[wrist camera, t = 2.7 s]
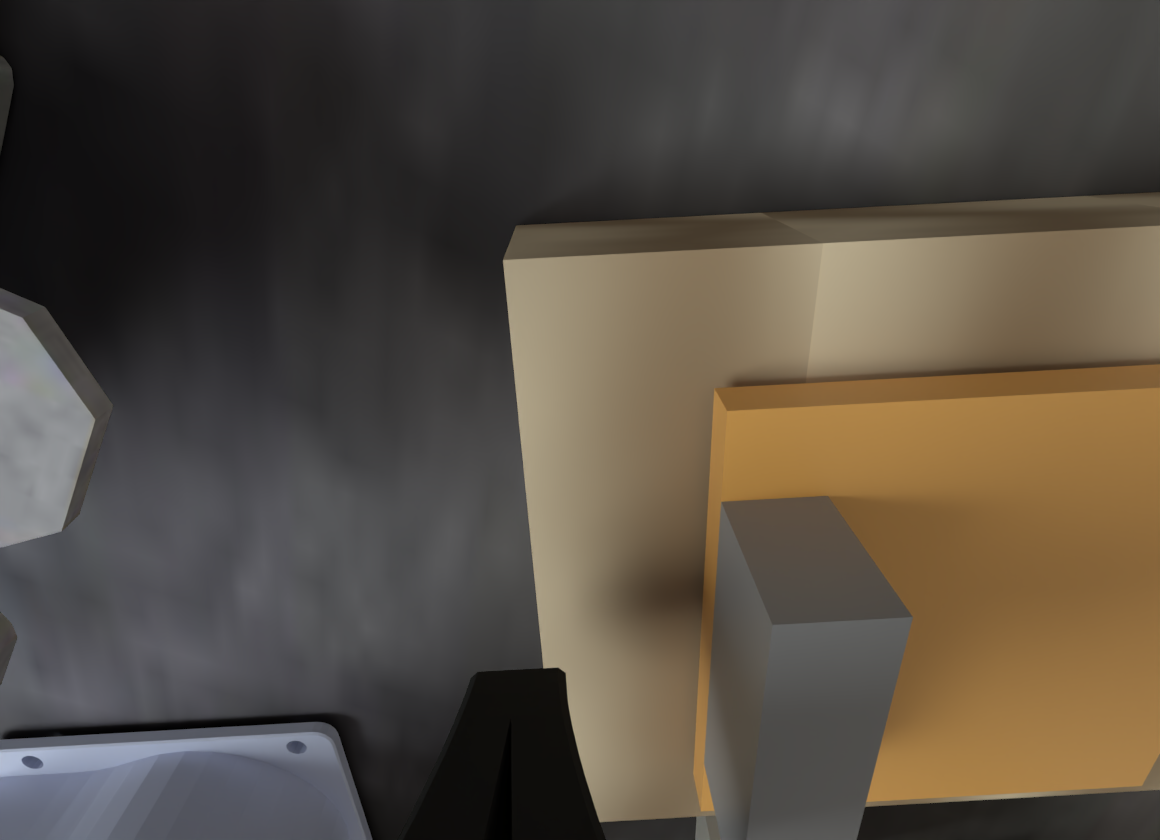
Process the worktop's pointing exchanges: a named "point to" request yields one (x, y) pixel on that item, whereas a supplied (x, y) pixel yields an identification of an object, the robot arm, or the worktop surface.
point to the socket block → (757, 358)
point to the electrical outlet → (41, 418)
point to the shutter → (927, 594)
